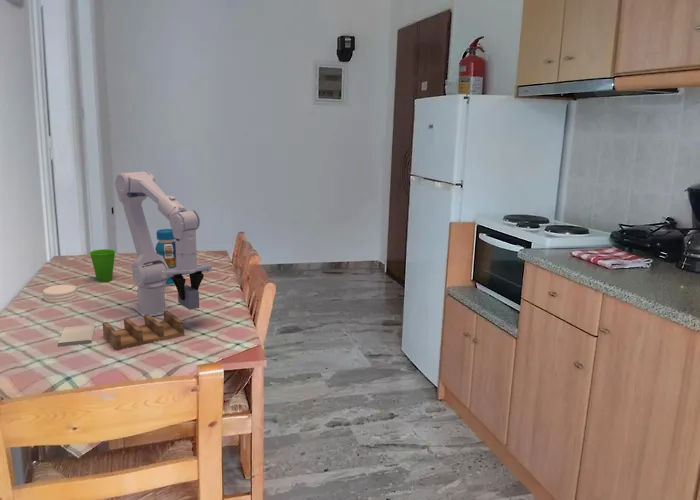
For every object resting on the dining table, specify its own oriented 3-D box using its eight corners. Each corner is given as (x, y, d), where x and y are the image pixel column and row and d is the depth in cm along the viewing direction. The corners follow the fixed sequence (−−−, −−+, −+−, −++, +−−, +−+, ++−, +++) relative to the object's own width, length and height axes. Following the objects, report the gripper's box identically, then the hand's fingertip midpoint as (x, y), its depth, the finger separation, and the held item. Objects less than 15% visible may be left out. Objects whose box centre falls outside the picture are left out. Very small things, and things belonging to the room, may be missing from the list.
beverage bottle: (152, 285, 204) (149, 231, 200) (164, 279, 212) (162, 227, 208) (172, 287, 202) (170, 233, 198) (185, 281, 210) (182, 229, 206)
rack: (103, 336, 155) (102, 322, 154) (168, 323, 166) (167, 310, 165) (116, 350, 146) (115, 335, 145) (184, 335, 157) (183, 321, 156)
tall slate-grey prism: (178, 302, 166) (177, 286, 164) (188, 300, 167) (187, 284, 166) (189, 309, 160) (188, 293, 158) (199, 307, 161) (198, 291, 160)
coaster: (63, 304, 182) (62, 294, 181) (36, 301, 184) (35, 291, 183) (83, 295, 191) (82, 285, 190) (57, 293, 193) (57, 283, 192)
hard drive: (91, 339, 150) (95, 324, 161) (57, 343, 147) (63, 326, 158) (91, 345, 150) (95, 329, 162) (58, 348, 147) (64, 332, 159)
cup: (117, 282, 207) (115, 253, 204) (90, 284, 203) (88, 255, 201) (117, 276, 215) (115, 248, 212) (92, 278, 211) (89, 249, 209)
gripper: (166, 258, 153) (169, 306, 156) (215, 252, 162) (217, 297, 165) (157, 253, 158) (159, 299, 161) (205, 247, 167) (206, 291, 170)
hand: (188, 298), depth 163 cm, fingers closed on tall slate-grey prism, 3 cm apart
